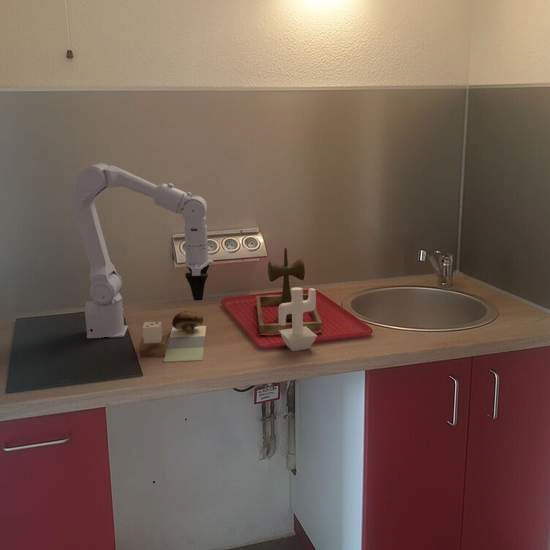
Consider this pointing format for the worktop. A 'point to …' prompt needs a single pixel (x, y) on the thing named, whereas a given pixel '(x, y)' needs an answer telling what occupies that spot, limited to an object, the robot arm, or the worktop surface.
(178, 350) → the board
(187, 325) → the mushroom
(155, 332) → the beige cube
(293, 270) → the kendama
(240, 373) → the worktop surface
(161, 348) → the plinth
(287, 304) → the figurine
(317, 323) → the brown rectangular frame
